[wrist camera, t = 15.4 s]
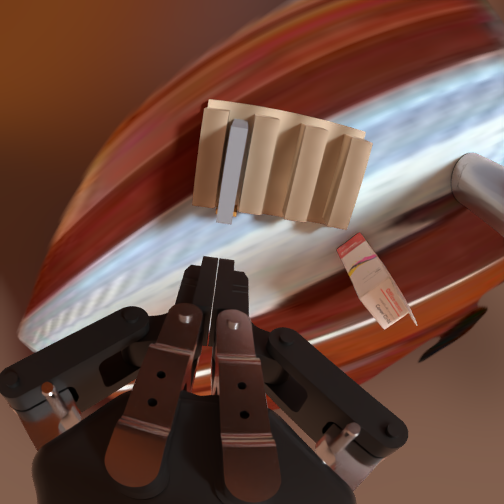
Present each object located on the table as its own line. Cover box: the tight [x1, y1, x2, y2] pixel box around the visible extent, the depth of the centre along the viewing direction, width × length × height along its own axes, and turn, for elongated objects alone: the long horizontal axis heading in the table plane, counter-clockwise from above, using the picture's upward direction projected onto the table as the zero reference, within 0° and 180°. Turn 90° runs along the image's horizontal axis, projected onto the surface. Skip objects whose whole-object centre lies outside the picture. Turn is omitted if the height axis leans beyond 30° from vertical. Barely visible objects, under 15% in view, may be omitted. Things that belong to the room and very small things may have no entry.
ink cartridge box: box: [337, 232, 417, 329], centre depth 39 cm, size 9×5×15 cm, turn 43°
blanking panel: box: [216, 119, 248, 224], centre depth 32 cm, size 2×10×9 cm, turn 170°
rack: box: [192, 99, 373, 230], centre depth 36 cm, size 20×14×4 cm
